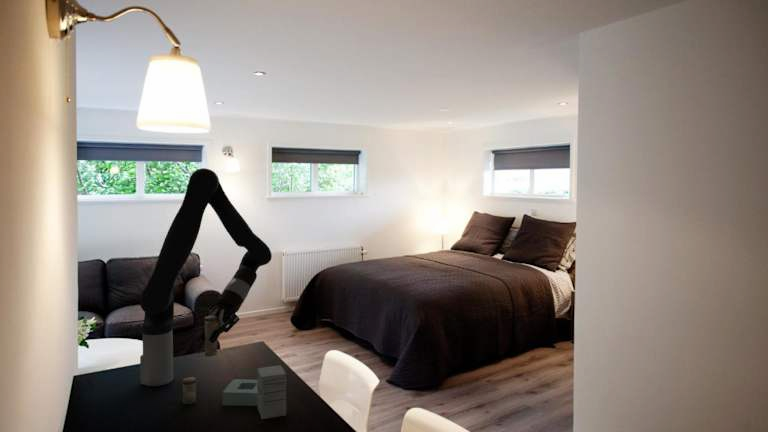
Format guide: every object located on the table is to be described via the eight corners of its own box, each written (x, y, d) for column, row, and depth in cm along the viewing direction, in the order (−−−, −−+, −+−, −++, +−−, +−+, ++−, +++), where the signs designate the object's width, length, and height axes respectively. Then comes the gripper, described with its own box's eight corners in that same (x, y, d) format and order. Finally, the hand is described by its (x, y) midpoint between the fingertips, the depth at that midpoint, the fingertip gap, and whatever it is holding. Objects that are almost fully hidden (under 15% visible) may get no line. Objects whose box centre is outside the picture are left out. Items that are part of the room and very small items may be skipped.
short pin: (180, 404, 147) (180, 381, 147) (186, 399, 151) (185, 377, 150) (192, 404, 147) (192, 381, 146) (197, 399, 151) (197, 377, 150)
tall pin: (202, 356, 151) (202, 318, 150) (207, 352, 155) (207, 315, 154) (214, 356, 151) (214, 319, 150) (218, 352, 155) (218, 315, 154)
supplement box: (256, 409, 144) (256, 367, 143) (281, 405, 147) (281, 364, 146) (260, 420, 137) (260, 376, 137) (286, 415, 140) (286, 373, 140)
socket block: (222, 405, 146) (222, 392, 146) (233, 391, 156) (233, 379, 156) (261, 405, 146) (261, 393, 146) (270, 392, 156) (270, 380, 156)
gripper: (212, 286, 162) (182, 331, 151) (245, 291, 155) (216, 338, 145) (223, 298, 167) (196, 343, 156) (256, 304, 161) (229, 350, 150)
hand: (206, 340), depth 151 cm, fingers closed on tall pin, 3 cm apart
